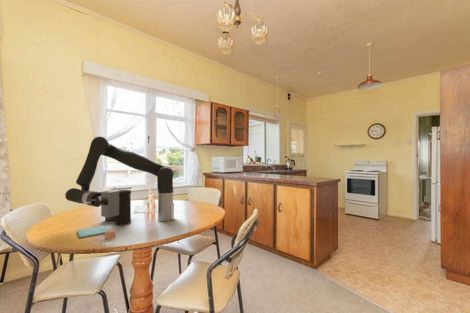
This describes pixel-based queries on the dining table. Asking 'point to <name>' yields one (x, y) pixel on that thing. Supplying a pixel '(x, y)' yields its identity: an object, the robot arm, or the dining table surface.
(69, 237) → the dining table surface
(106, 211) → the gray rectangular block
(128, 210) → the container
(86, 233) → the teal board
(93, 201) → the robot arm
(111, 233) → the block
